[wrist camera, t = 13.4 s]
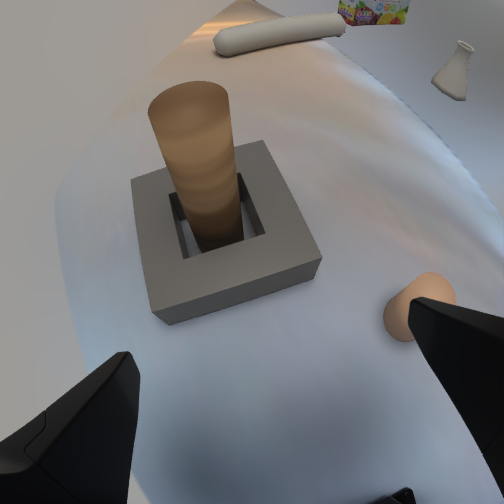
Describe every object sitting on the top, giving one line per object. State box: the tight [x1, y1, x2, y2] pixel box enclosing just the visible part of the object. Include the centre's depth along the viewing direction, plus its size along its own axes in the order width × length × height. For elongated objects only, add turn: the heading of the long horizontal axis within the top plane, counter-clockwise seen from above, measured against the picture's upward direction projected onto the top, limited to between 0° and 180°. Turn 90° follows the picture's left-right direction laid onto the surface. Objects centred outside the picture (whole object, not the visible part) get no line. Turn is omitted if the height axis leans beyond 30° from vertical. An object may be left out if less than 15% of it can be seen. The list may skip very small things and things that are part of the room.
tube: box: [213, 12, 346, 56], centre depth 41 cm, size 5×5×25 cm
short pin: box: [384, 272, 456, 342], centre depth 20 cm, size 4×4×5 cm
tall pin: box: [148, 81, 244, 253], centre depth 19 cm, size 4×4×14 cm
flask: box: [431, 41, 474, 101], centre depth 33 cm, size 7×7×10 cm
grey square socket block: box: [131, 140, 322, 325], centre depth 24 cm, size 12×12×4 cm
